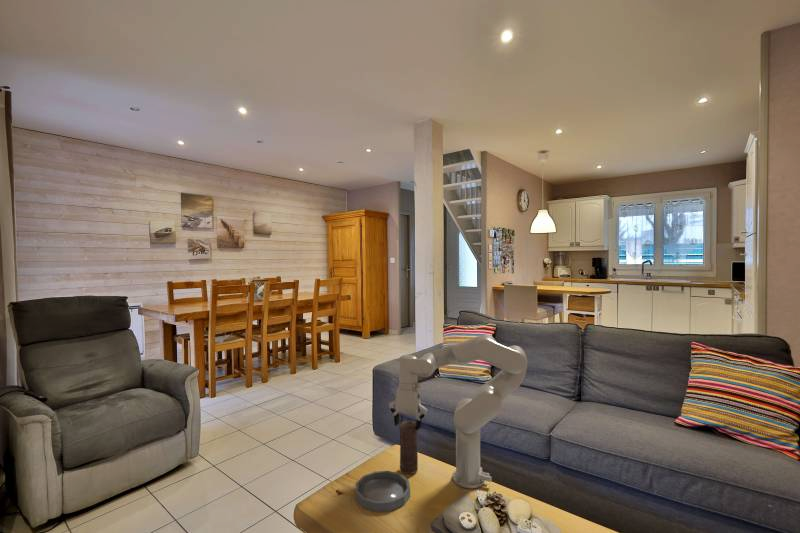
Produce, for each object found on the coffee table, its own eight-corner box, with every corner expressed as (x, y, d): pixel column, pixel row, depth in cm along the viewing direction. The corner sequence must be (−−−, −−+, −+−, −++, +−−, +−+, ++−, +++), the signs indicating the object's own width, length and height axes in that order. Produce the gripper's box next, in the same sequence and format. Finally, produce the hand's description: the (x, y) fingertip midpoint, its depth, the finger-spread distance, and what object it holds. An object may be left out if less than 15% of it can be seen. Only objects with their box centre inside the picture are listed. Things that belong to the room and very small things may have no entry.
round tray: (417, 485, 140) (417, 477, 140) (395, 517, 122) (395, 508, 122) (372, 474, 148) (372, 466, 148) (345, 502, 130) (345, 494, 130)
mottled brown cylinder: (416, 477, 146) (415, 427, 146) (398, 475, 147) (398, 426, 148) (418, 467, 153) (418, 419, 154) (401, 465, 155) (401, 418, 155)
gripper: (430, 385, 151) (430, 427, 150) (393, 380, 158) (392, 419, 158) (424, 391, 144) (423, 434, 144) (385, 385, 151) (384, 426, 151)
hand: (407, 426), depth 151 cm, fingers open, 9 cm apart
